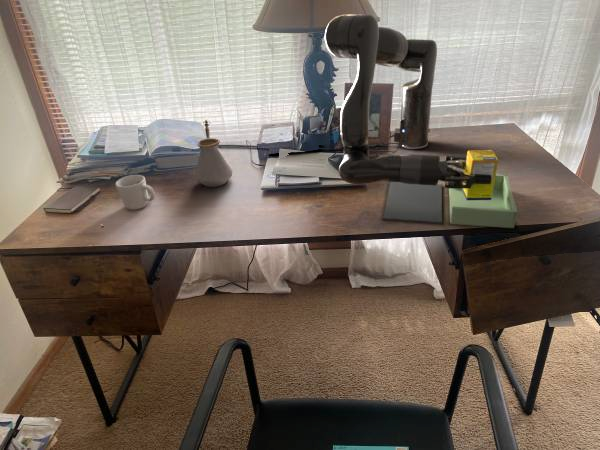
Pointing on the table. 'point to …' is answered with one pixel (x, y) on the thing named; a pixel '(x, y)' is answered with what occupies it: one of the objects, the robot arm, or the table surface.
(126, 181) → the cup
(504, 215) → the desk tray
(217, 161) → the coffee pot
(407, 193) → the grey mat
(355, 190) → the table surface
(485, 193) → the supplement box
